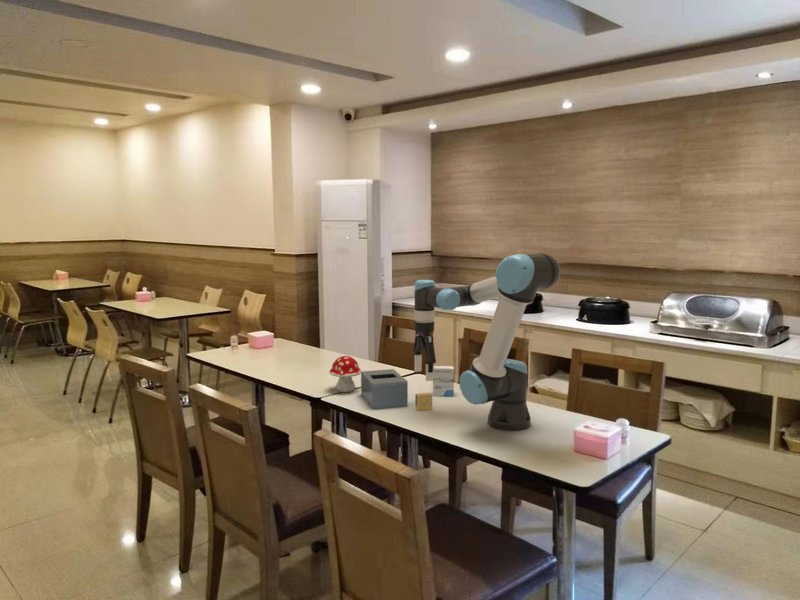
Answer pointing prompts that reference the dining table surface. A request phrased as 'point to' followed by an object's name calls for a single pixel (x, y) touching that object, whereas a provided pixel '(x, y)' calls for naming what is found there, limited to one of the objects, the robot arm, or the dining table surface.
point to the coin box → (384, 389)
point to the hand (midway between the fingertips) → (423, 375)
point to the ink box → (443, 381)
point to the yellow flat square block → (423, 401)
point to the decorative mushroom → (345, 373)
